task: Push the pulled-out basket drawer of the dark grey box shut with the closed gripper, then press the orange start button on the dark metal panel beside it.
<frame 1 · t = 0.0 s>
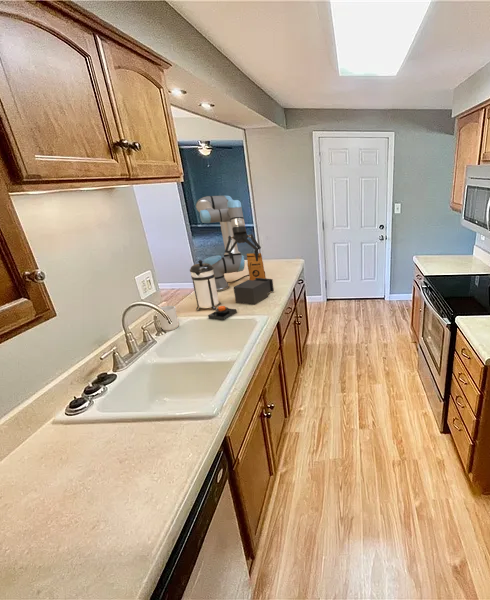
hand: (245, 262, 196), 28 cm above the worktop, tool tilted 20°, fingers open, 13 cm apart
start button: (221, 308, 190), point 4 cm above the worktop, slide at 0.1 cm
mug: (171, 327, 177), on the worktop
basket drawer: (261, 286, 225), point 5 cm above the worktop, slide at 7.5 cm
coffee package: (258, 281, 256), on the worktop
coffee press: (209, 307, 205), on the worktop
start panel: (223, 315, 191), on the worktop
dark grey box: (252, 299, 216), on the worktop
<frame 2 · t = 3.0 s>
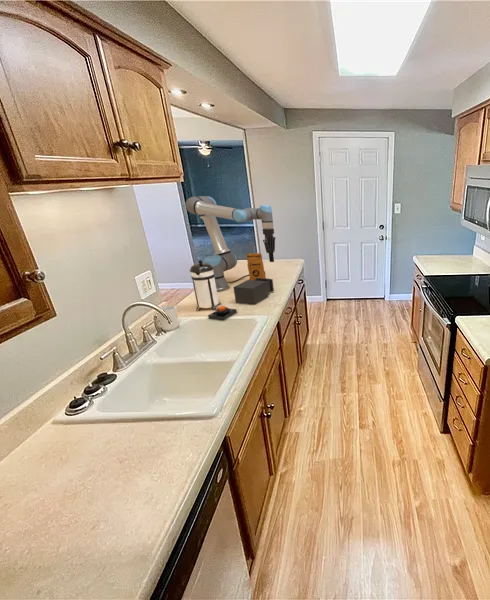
hand: (271, 261, 235), 19 cm above the worktop, tool pointing down, fingers closed
nothing on the worktop moved.
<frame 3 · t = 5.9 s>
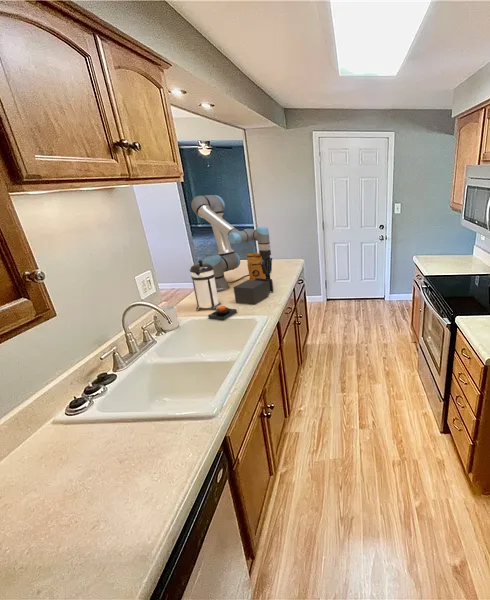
hand: (268, 282, 234), 5 cm above the worktop, tool pointing down, fingers closed
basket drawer: (260, 286, 224), point 5 cm above the worktop, slide at 7.1 cm, touching gripper
everything else where it was.
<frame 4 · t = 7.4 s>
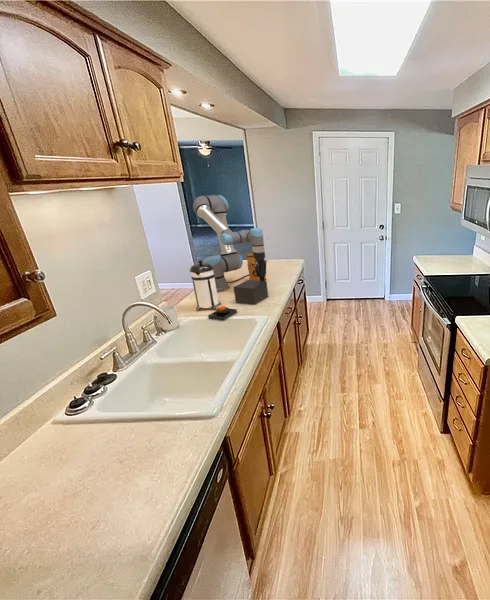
hand: (263, 285, 227), 5 cm above the worktop, tool pointing down, fingers closed
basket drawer: (254, 290, 218), point 5 cm above the worktop, slide at 0.0 cm, touching dark grey box, gripper
everything else where it was.
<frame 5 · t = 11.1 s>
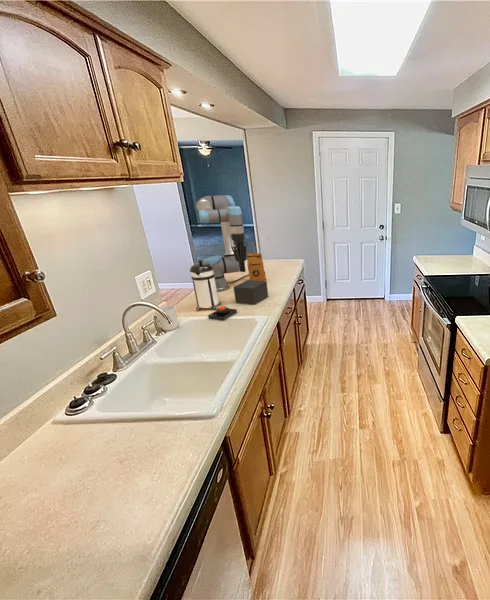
hand: (243, 271, 203), 21 cm above the worktop, tool pointing down, fingers closed
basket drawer: (254, 290, 218), point 5 cm above the worktop, slide at 0.0 cm, touching dark grey box
everything else where it was.
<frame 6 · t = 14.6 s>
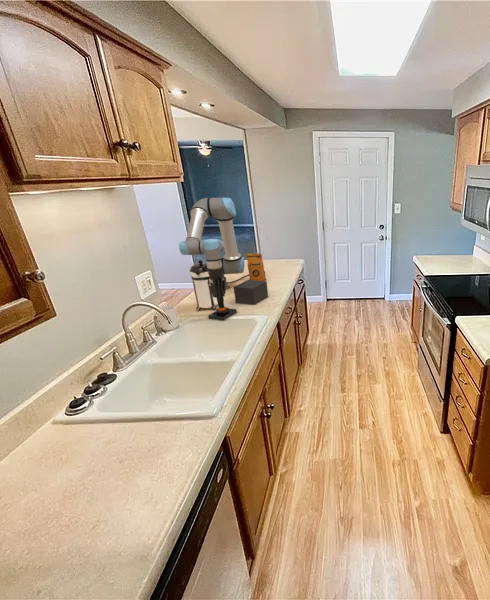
hand: (221, 307, 189), 5 cm above the worktop, tool pointing down, fingers closed
start button: (222, 309, 190), point 4 cm above the worktop, slide at -0.3 cm, touching gripper
everything else where it was.
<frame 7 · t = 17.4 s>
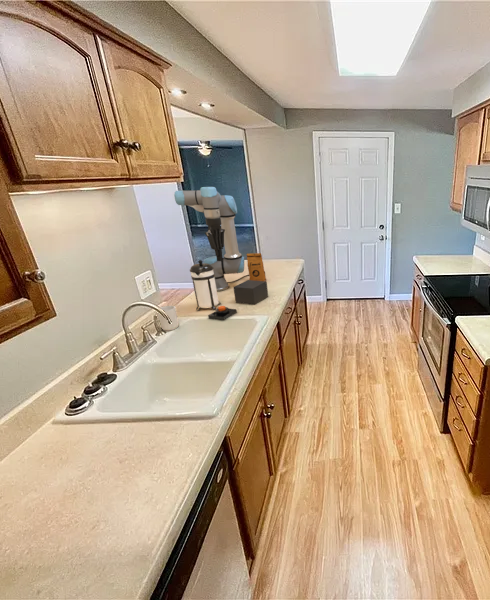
hand: (220, 260, 183), 32 cm above the worktop, tool pointing down, fingers closed
start button: (221, 308, 190), point 4 cm above the worktop, slide at 0.1 cm
everything else where it was.
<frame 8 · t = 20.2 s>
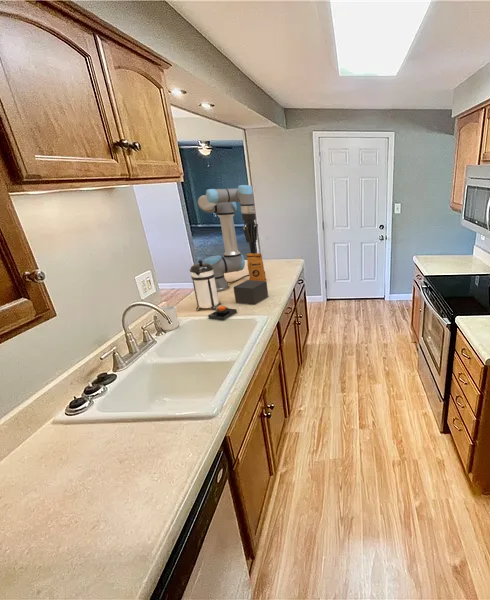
hand: (253, 253, 199), 32 cm above the worktop, tool pointing down, fingers closed
nothing on the worktop moved.
at the end: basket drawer slide at 0.0 cm; start button pushed in 1.0 cm at the most during the clip, back to where it started at the end; start button slide at 0.1 cm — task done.
